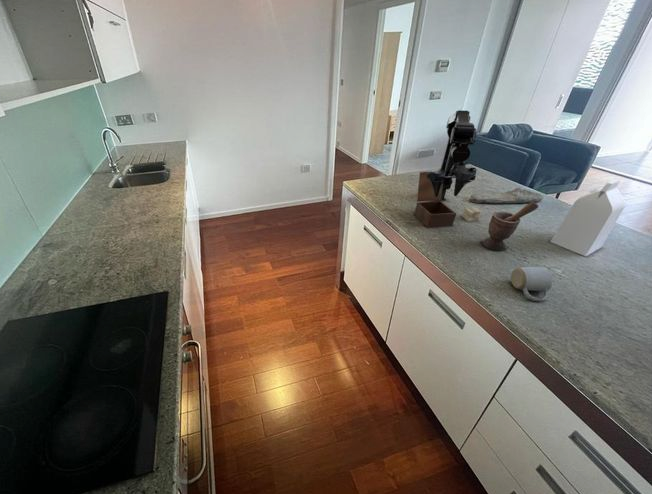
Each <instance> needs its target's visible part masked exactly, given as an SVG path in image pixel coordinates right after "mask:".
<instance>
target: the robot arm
mask: <svg viewBox="0 0 652 494" xmlns="http://www.w3.org/2000/svg"><path fill="white" fill-rule="evenodd" d="M470 113H471V111H468V110H462V109H461V110H456V111H455V113H453V114H451V115H449V117H448V119H447V122H446V126H445V129H446V134H447V136H448V138H447V142H446V145H445V149H444V154H443V158H442V161H441V165H440V168H438V169H437V170H432V171H428V172H429V173H428V174H427V178H428V179H429V180H430V181H431V183H432V186H433V190H434V194H435V197H438V194H439V191H440V187H441V185H442V184H443V188H442V196H441V200H436V201H446V200H447V199H446V198H445V196H446V193H447V191H448V190H450V189H451V188H452V185H453V182H454V190H453V196H454V197H457V196H458V195H459V193H461V191H462V189H463V188H464V187H465V185H467V184H470V183H472V182H473V181H475V180H476V177H477V171H478V169H477V168H476V167H466V165H467V163H466V161H467V160H468V159H469V158H470V156H471V150H470V149H469V145H471V146H473V145H474V144H475V142H476V140H477V133H478V132H477V128H476V126H475V123H472V122H471V116H470ZM438 171H442V172H443V173H441V172H438ZM453 179H455V181H453Z"/></svg>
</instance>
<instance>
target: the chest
mask: <svg viewBox="0 0 652 494" xmlns="http://www.w3.org/2000/svg"><path fill="white" fill-rule="evenodd" d="M413 215H414V216H415V217H416V218H417V219H418V220H419V221H421V223H423V225H425V227H426V228H427V229H428V228H441V227H453V225H454V222H455V219H456V216H457V212H455V211H454V210H453V209H451V208H450V207H449V206H447V205H446V204H445V203H444V202H443V201H442V200H440V201H421V202H417V201H416V205H415V209H414V213H413Z"/></svg>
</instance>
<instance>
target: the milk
mask: <svg viewBox="0 0 652 494" xmlns="http://www.w3.org/2000/svg"><path fill="white" fill-rule="evenodd" d="M620 182H621V180H618V179H613V180H610V181H607V182H606V183H605V185H604V186H603V187H602V188H600V187H597V188H594V189H591V190H589V191H588V192H589V193H588V194H585V195H582V196H580V197H578V198H577V199H576V200H575V201H574V202H573V204H572V206H571V207H570V209H569V211H568V212H567V214H566V215H565V217H564V218H563V220H562V222H561V224H560V225H559V227H558V228H557V230H556V232H554V235H553V237H552V238H551V239H550V243H552V244H554V245H556V246H558V247H561V248H564V249H567V250H569V251H572V252H574V253H576V254H579V255H581V256H584V257H587V256H589V255H591V254H592V253H595V252H596V251H597V250H599V249H601V248H602V247H603V245H604V243H605V241H606V240H607V238H608V237H609V236H610V233H611V231H612V229H613V228H614V226H615V225H616V223H617V221H618V219H619V218H620V216H621V214H622V213H623V211H624V209H625V207H626V206H627V203H626V202H627V201H626V200H625V197H624V196H623V195H622V194H621V191H620V190H619V189H618V185H619V184H620Z"/></svg>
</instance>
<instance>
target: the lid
mask: <svg viewBox="0 0 652 494" xmlns="http://www.w3.org/2000/svg"><path fill="white" fill-rule="evenodd" d="M437 171H438V170H437ZM429 172H430V171H419V174H418V175H419V178H418V188H417V196H416V203H417V202H432V201H436V200H440V201H442V200H441V196H442V188H443V184H442V185H441V187H440V191H439V194H438V197H435V194H434V190H433V186H432V183H431V181H430V180H429V179H428V178H427V174H428V173H429ZM438 172H441V173H443V172H442V171H438Z"/></svg>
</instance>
